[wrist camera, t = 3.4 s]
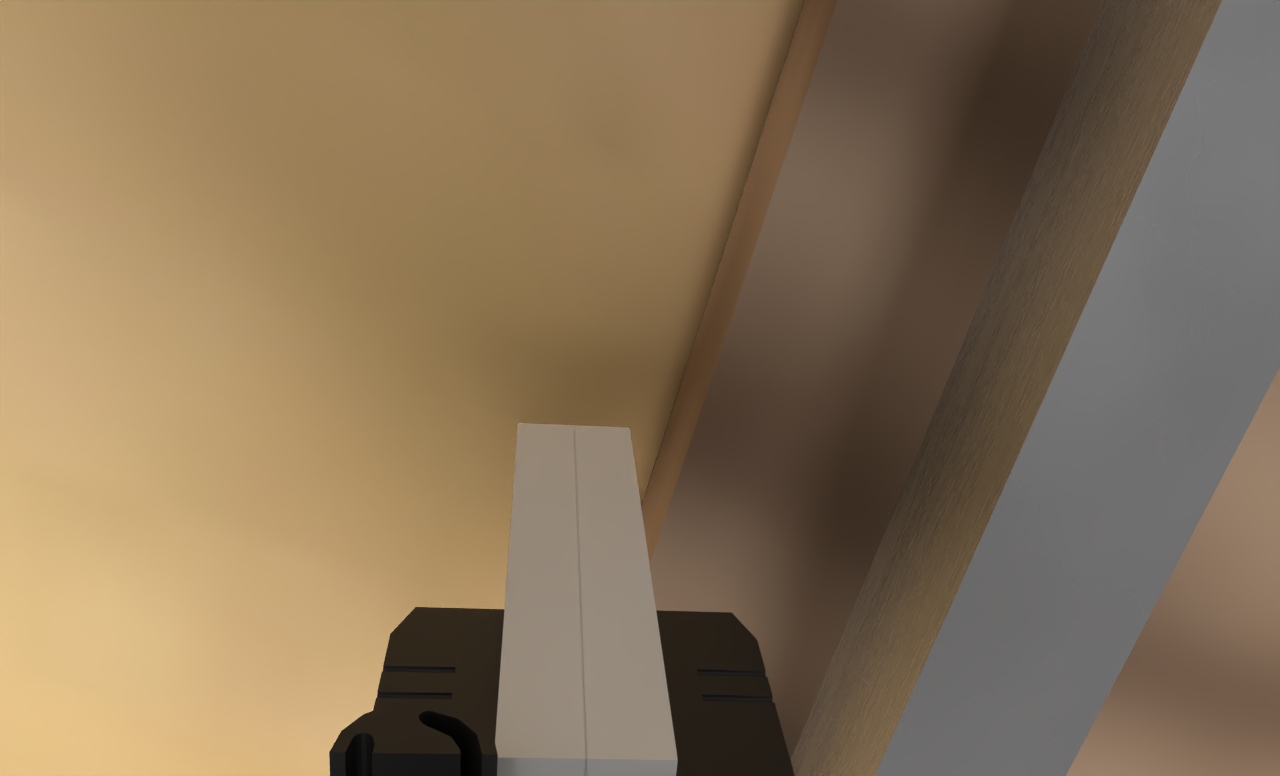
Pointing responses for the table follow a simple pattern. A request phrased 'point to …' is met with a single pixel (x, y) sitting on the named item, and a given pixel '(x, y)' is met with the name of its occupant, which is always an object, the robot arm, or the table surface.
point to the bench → (920, 375)
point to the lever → (1077, 411)
